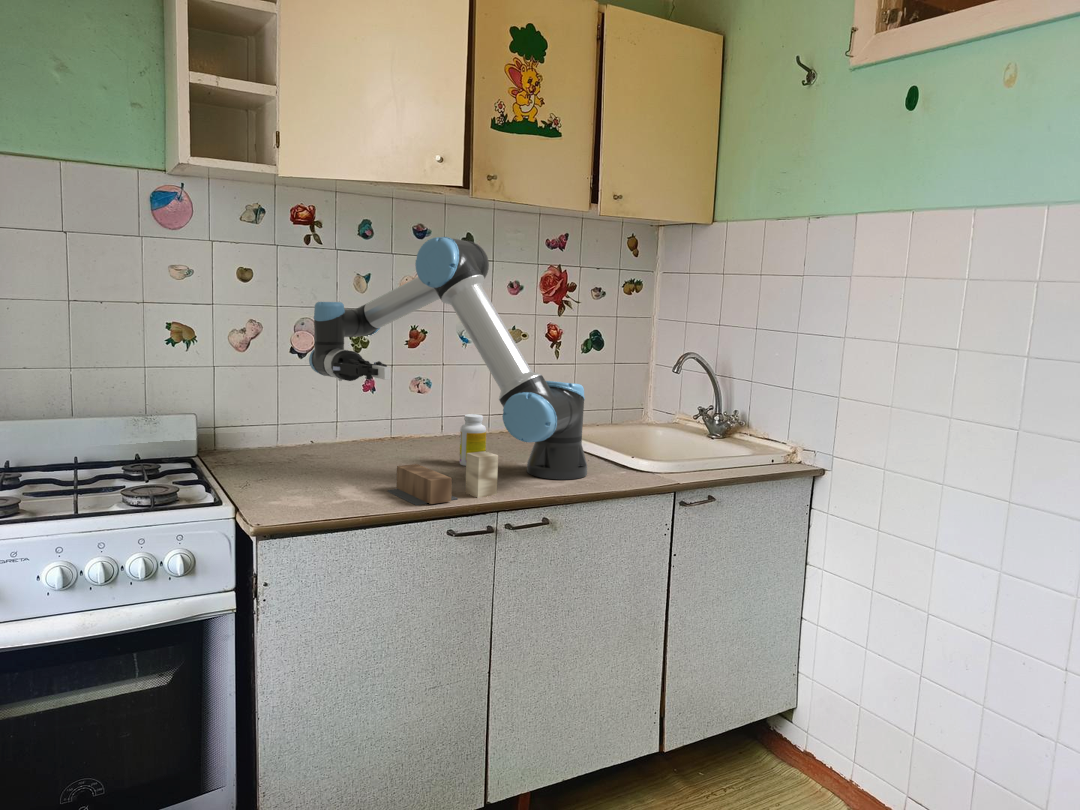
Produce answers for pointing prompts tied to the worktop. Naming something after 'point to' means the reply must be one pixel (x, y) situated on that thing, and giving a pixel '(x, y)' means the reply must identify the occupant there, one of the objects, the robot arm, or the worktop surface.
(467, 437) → the supplement bottle
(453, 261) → the robot arm
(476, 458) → the birch block
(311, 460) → the worktop surface
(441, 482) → the walnut block
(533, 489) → the worktop surface
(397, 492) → the mat
